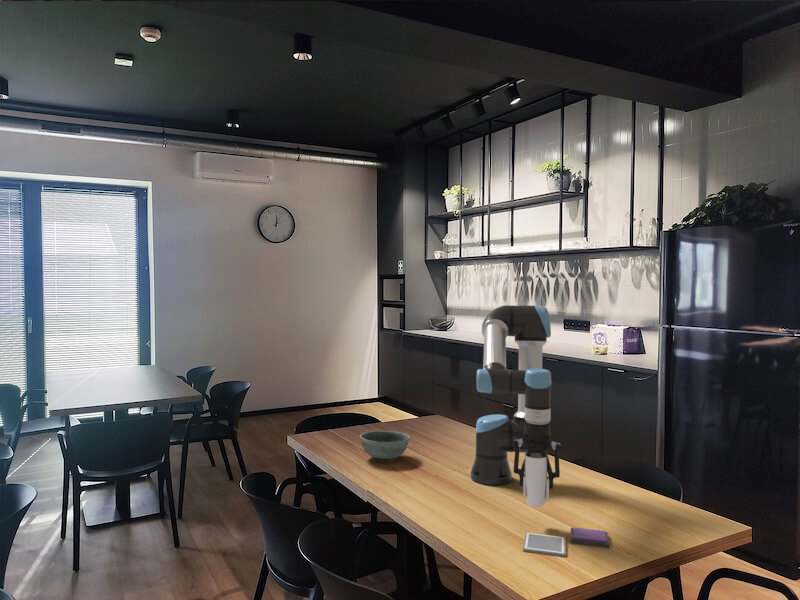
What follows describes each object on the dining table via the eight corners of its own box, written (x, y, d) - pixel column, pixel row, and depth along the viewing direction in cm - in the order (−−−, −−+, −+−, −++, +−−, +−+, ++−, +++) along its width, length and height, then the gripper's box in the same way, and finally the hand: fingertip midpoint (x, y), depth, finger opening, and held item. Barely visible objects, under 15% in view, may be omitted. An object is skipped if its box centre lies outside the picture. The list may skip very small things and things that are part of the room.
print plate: (522, 551, 154) (523, 548, 154) (525, 534, 164) (525, 532, 164) (565, 556, 151) (565, 554, 151) (565, 539, 161) (565, 537, 161)
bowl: (350, 463, 230) (350, 438, 230) (372, 449, 249) (372, 427, 249) (398, 469, 222) (398, 444, 222) (417, 455, 241) (417, 432, 241)
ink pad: (571, 543, 159) (571, 537, 159) (570, 531, 166) (570, 526, 166) (609, 548, 156) (609, 542, 156) (607, 536, 164) (607, 530, 164)
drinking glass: (521, 500, 174) (521, 451, 173) (542, 499, 174) (543, 450, 174) (528, 509, 167) (528, 458, 166) (550, 508, 168) (551, 458, 167)
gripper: (503, 422, 169) (502, 499, 170) (570, 427, 163) (569, 506, 164) (506, 416, 176) (505, 489, 177) (570, 420, 171) (569, 496, 172)
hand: (536, 497), depth 171 cm, fingers closed on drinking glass, 6 cm apart
